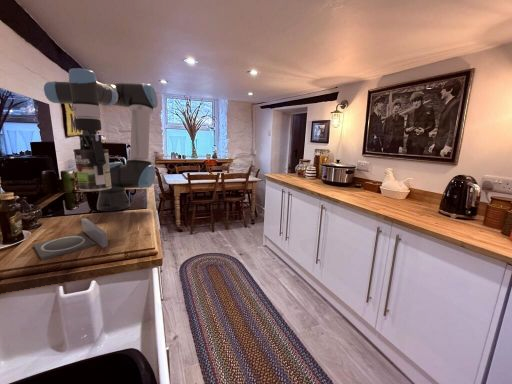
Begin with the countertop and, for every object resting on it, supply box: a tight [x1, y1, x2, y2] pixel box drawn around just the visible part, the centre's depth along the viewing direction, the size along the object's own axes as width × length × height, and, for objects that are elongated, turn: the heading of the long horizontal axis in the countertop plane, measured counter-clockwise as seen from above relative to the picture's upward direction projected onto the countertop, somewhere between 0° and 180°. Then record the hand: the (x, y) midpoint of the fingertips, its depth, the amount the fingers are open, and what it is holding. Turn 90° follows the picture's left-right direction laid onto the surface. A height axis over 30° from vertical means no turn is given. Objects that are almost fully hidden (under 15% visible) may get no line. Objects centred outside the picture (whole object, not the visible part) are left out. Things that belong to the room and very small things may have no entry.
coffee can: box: [73, 148, 112, 192], centre depth 89 cm, size 10×10×14 cm
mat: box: [32, 232, 96, 261], centre depth 84 cm, size 14×14×1 cm
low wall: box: [80, 217, 109, 249], centre depth 91 cm, size 22×2×5 cm, turn 49°
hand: (95, 182), depth 90 cm, fingers closed on coffee can, 10 cm apart
